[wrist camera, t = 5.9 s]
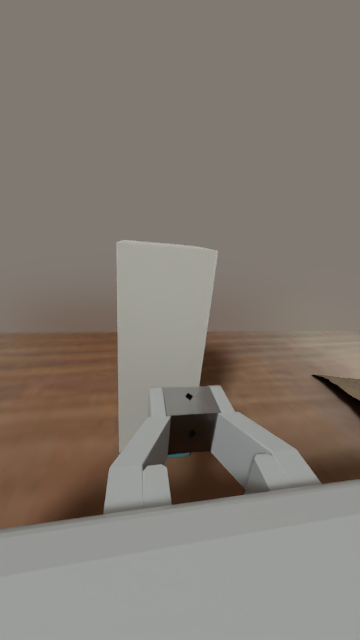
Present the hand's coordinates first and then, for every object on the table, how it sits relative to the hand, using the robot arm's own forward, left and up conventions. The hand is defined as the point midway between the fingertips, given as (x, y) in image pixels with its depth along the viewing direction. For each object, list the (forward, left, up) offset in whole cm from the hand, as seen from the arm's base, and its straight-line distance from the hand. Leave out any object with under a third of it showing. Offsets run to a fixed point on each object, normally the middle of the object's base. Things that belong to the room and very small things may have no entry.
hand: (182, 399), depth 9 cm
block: (-1, +5, -7) cm, 9 cm away
